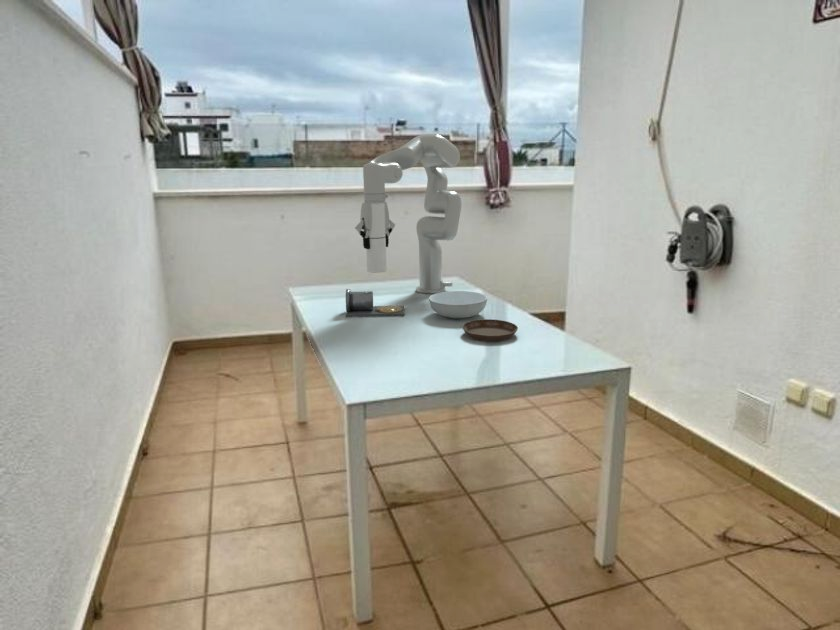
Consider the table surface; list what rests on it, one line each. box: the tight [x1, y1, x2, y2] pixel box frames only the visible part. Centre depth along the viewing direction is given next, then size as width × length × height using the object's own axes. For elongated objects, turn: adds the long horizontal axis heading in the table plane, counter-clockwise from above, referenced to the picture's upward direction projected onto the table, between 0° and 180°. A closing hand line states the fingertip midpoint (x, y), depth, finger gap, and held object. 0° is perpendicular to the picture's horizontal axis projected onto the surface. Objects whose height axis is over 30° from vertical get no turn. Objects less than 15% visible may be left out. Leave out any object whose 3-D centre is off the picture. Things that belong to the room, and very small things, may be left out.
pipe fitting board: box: [345, 288, 405, 318], centre depth 218 cm, size 21×12×9 cm, turn 92°
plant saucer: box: [461, 318, 519, 342], centre depth 190 cm, size 18×18×3 cm
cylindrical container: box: [365, 203, 387, 274], centre depth 216 cm, size 7×7×25 cm
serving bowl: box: [428, 290, 488, 320], centre depth 213 cm, size 21×21×7 cm
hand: (376, 247), depth 217 cm, fingers closed on cylindrical container, 7 cm apart
